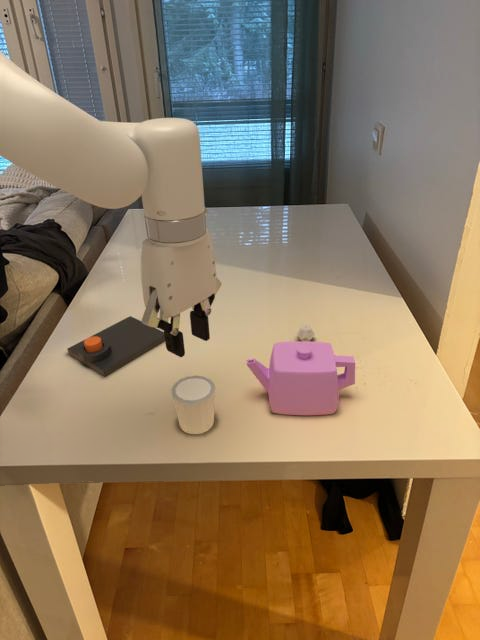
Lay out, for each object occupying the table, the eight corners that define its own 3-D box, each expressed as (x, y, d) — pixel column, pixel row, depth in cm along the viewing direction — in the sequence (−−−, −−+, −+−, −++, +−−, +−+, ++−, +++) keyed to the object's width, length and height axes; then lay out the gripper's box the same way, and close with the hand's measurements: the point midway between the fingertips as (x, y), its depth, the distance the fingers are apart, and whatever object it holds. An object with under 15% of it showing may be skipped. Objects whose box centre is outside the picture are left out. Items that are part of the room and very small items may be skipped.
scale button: (92, 354, 89) (90, 347, 88) (82, 349, 90) (80, 341, 89) (105, 347, 91) (104, 339, 90) (96, 341, 92) (94, 334, 92)
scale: (102, 378, 87) (99, 365, 85) (66, 355, 93) (62, 343, 92) (167, 339, 97) (166, 326, 96) (131, 321, 104) (129, 309, 102)
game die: (296, 344, 94) (296, 331, 93) (297, 334, 97) (298, 322, 96) (313, 345, 94) (314, 333, 92) (314, 335, 97) (315, 323, 95)
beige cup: (216, 437, 73) (213, 403, 69) (172, 437, 73) (167, 403, 70) (219, 407, 79) (216, 374, 75) (178, 407, 79) (174, 375, 75)
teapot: (246, 416, 77) (245, 367, 71) (248, 377, 86) (247, 330, 80) (357, 418, 76) (364, 367, 70) (347, 377, 85) (353, 330, 79)
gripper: (200, 203, 66) (209, 314, 76) (102, 239, 55) (126, 363, 65) (241, 213, 62) (244, 328, 72) (144, 253, 51) (163, 384, 61)
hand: (188, 344), depth 68 cm, fingers open, 4 cm apart
